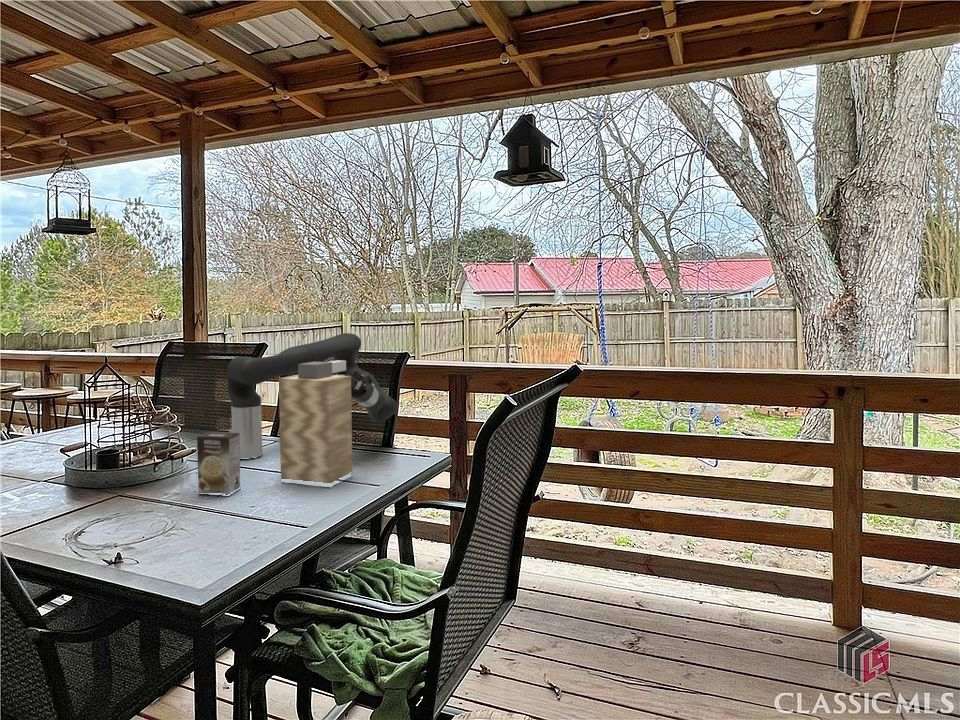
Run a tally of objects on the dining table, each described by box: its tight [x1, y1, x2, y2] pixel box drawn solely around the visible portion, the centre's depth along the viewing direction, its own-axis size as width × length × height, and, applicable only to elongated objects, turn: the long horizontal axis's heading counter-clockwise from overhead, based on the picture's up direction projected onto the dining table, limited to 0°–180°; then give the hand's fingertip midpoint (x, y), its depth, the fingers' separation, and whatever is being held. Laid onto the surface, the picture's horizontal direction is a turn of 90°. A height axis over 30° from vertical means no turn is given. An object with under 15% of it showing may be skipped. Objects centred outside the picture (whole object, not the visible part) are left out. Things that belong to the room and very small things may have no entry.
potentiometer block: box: [297, 360, 346, 379], centre depth 178 cm, size 6×18×4 cm, turn 162°
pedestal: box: [278, 374, 353, 483], centre depth 175 cm, size 16×12×30 cm
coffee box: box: [196, 431, 241, 494], centre depth 163 cm, size 9×6×16 cm
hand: (341, 372), depth 187 cm, fingers open, 8 cm apart
